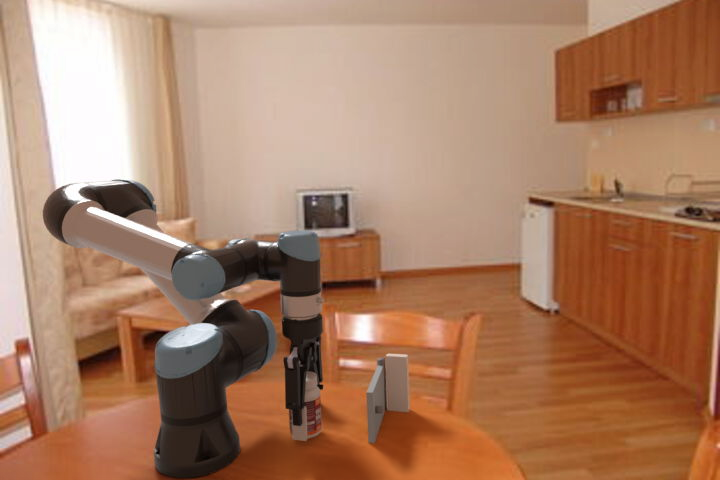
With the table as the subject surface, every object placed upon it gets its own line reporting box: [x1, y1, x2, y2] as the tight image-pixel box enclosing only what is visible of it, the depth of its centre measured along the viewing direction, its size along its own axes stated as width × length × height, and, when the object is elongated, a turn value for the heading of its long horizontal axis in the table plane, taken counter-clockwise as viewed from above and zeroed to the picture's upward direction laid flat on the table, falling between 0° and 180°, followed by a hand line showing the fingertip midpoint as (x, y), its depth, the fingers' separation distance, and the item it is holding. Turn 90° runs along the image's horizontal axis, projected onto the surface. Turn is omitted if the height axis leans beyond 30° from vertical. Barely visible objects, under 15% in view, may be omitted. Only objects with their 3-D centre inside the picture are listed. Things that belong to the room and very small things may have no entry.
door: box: [365, 357, 388, 444], centre depth 112 cm, size 15×3×11 cm, turn 169°
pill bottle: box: [288, 371, 323, 439], centre depth 108 cm, size 6×6×11 cm
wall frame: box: [300, 353, 411, 413], centre depth 121 cm, size 24×2×12 cm, turn 75°
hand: (306, 430), depth 108 cm, fingers closed on pill bottle, 6 cm apart
